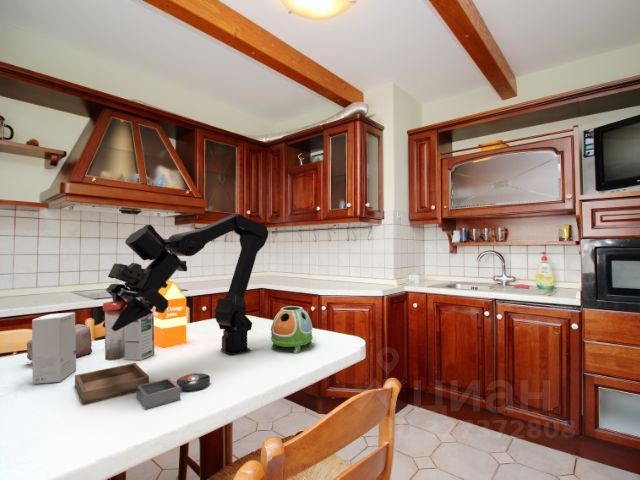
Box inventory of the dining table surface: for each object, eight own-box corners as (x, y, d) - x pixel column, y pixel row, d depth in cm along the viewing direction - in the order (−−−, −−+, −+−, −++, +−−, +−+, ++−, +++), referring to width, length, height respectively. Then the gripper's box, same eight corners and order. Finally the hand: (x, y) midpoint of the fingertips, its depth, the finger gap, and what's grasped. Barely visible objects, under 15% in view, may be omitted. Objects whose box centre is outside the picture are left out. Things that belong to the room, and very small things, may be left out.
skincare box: (60, 382, 81) (60, 317, 81) (30, 385, 79) (30, 319, 80) (77, 369, 89) (77, 311, 89) (49, 372, 88) (49, 312, 88)
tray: (135, 373, 87) (135, 362, 87) (149, 388, 77) (149, 376, 77) (74, 386, 79) (75, 375, 79) (82, 405, 69) (82, 392, 69)
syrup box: (140, 361, 95) (140, 307, 96) (122, 359, 97) (121, 306, 97) (154, 354, 101) (154, 303, 101) (136, 353, 102) (136, 303, 102)
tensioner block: (202, 376, 84) (202, 366, 84) (218, 388, 77) (218, 376, 77) (133, 394, 74) (133, 382, 74) (145, 409, 67) (145, 396, 67)
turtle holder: (323, 339, 116) (323, 303, 116) (301, 355, 99) (301, 313, 99) (289, 336, 120) (289, 301, 121) (262, 351, 104) (262, 310, 104)
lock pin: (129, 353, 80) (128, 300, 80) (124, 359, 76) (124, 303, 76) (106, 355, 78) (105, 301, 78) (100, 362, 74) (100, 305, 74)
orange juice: (175, 338, 119) (175, 278, 119) (186, 343, 112) (186, 280, 113) (151, 342, 113) (151, 280, 113) (161, 348, 107) (161, 282, 107)
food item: (42, 369, 90) (42, 330, 90) (23, 365, 93) (23, 328, 93) (94, 353, 102) (94, 319, 102) (76, 350, 105) (76, 317, 106)
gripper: (114, 250, 86) (61, 301, 77) (155, 250, 75) (98, 311, 66) (146, 279, 92) (100, 330, 83) (188, 284, 81) (140, 343, 72)
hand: (108, 328), depth 76 cm, fingers closed on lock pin, 4 cm apart
